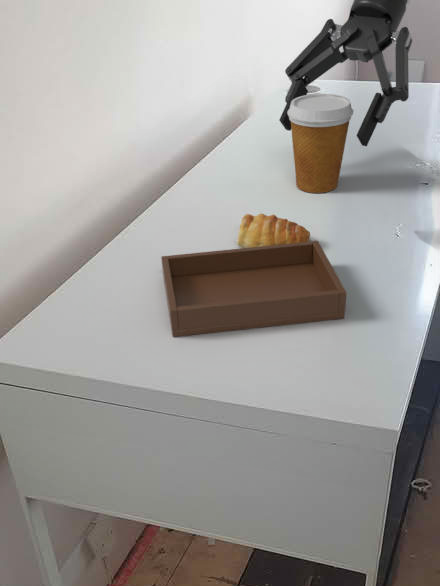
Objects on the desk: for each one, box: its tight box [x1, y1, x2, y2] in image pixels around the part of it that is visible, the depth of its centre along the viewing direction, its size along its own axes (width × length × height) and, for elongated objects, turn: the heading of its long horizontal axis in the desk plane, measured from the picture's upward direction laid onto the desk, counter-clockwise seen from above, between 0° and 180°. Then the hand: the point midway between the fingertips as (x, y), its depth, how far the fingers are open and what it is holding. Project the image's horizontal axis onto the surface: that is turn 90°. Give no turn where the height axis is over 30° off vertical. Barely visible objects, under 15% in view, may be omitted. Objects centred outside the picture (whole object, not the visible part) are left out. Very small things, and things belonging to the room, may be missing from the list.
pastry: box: [236, 213, 311, 249], centre depth 95 cm, size 9×7×4 cm
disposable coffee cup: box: [287, 93, 354, 194], centre depth 107 cm, size 10×10×12 cm
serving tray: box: [160, 240, 347, 338], centre depth 85 cm, size 20×14×3 cm
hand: (321, 133), depth 107 cm, fingers open, 13 cm apart
